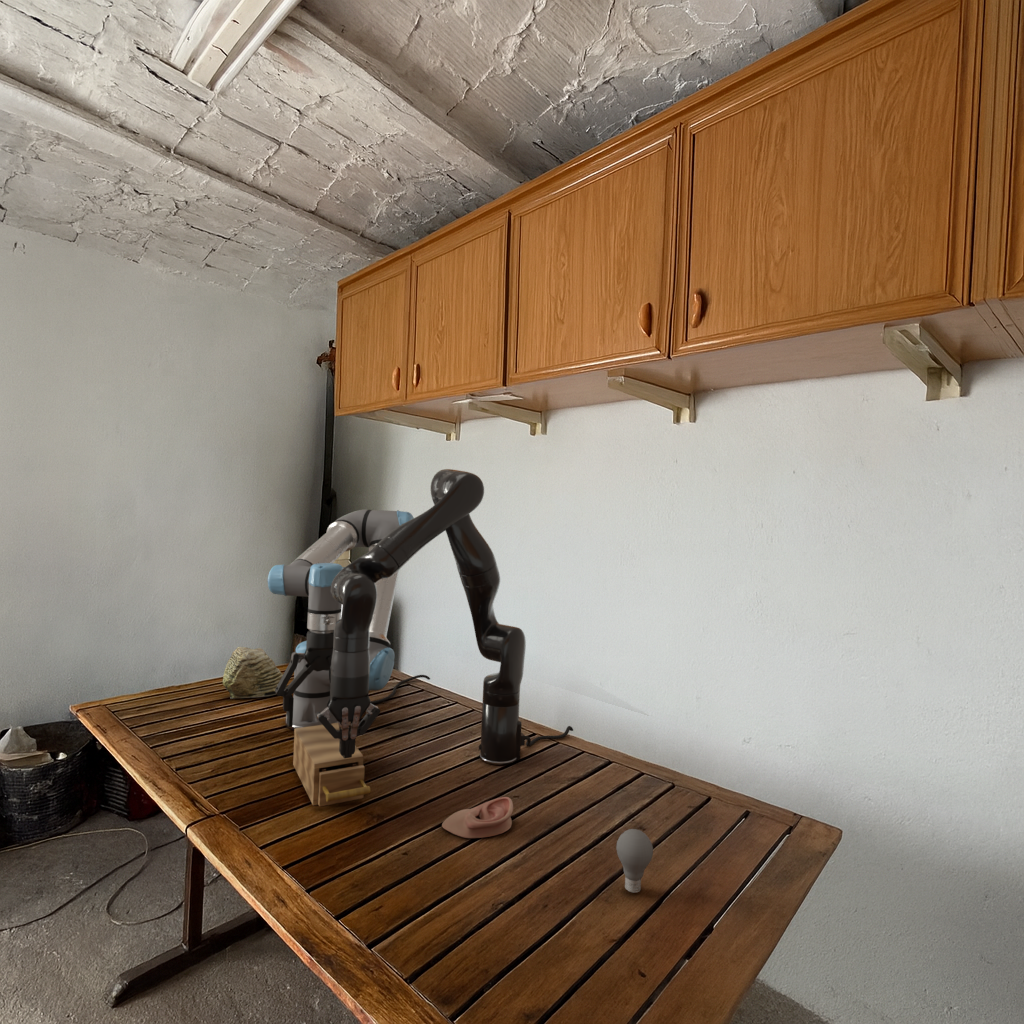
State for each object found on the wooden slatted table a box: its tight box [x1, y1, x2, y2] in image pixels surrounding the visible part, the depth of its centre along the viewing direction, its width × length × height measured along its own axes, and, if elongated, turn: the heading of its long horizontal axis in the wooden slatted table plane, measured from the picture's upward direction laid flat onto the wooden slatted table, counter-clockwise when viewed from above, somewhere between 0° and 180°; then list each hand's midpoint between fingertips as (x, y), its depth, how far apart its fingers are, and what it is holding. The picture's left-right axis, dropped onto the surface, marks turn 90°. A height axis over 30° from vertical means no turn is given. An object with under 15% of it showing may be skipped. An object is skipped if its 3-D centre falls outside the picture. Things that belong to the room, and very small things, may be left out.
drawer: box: [318, 762, 371, 807], centre depth 136 cm, size 26×9×6 cm, turn 29°
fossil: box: [222, 646, 288, 699], centre depth 198 cm, size 9×18×15 cm, turn 132°
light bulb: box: [615, 828, 654, 894], centre depth 106 cm, size 6×6×10 cm
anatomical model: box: [441, 796, 514, 839], centre depth 125 cm, size 13×4×12 cm
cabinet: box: [292, 723, 364, 806], centre depth 142 cm, size 22×10×9 cm, turn 29°
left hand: (320, 721), depth 147 cm, fingers open, 13 cm apart
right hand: (346, 756), depth 127 cm, fingers closed
